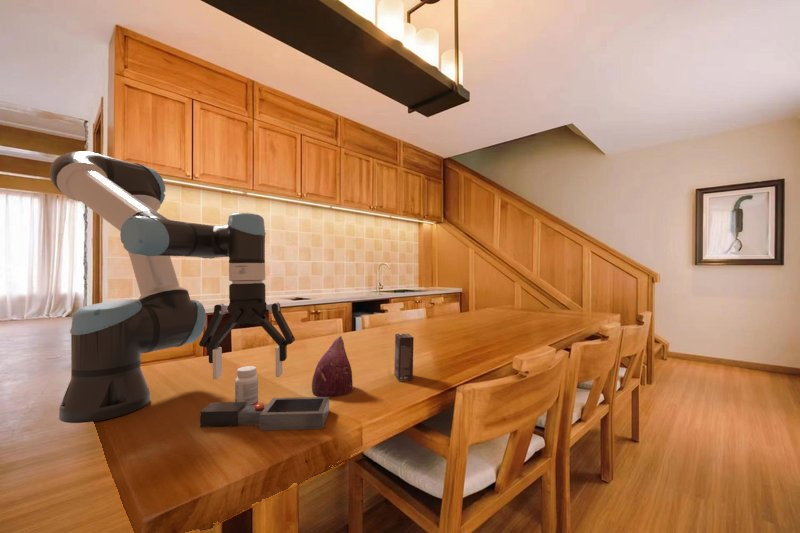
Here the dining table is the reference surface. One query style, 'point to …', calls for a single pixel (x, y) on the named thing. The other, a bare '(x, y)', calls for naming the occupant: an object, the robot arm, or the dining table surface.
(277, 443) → the dining table surface
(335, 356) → the vegetable
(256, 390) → the pill bottle
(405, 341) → the box
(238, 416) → the shallow gray tray
